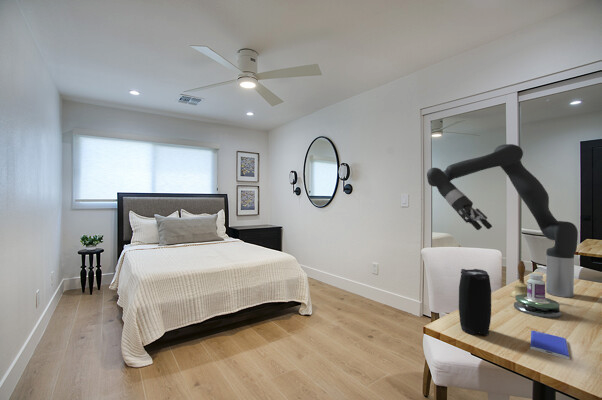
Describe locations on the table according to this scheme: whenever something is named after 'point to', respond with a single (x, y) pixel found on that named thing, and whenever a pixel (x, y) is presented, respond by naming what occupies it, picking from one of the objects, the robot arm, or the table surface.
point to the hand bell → (520, 281)
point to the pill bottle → (536, 287)
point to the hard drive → (549, 344)
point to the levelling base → (538, 307)
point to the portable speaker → (475, 301)
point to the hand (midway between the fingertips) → (485, 228)
